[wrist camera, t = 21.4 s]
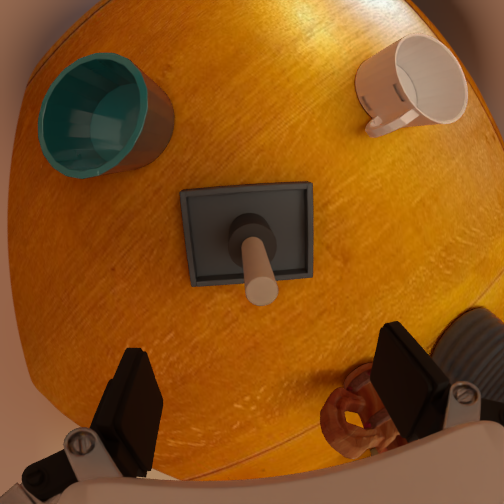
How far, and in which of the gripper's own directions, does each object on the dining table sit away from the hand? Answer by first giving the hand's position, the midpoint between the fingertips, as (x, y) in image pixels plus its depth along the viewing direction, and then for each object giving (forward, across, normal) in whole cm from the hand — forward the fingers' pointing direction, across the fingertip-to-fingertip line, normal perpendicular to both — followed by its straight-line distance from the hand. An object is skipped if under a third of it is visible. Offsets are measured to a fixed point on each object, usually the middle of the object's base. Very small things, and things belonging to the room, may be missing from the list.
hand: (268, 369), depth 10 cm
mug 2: (+22, -15, +23) cm, 35 cm away
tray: (+22, -1, 0) cm, 22 cm away
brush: (+21, -1, 0) cm, 21 cm away
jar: (+22, +11, -13) cm, 28 cm away
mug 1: (+22, -17, -15) cm, 31 cm away
